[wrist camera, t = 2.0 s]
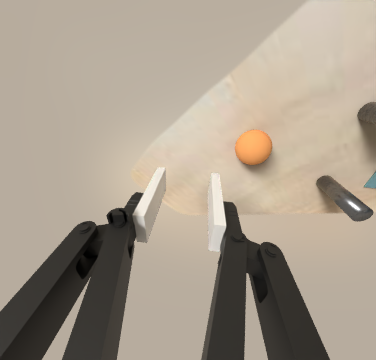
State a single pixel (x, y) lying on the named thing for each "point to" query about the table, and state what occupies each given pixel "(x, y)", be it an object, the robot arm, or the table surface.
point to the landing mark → (371, 182)
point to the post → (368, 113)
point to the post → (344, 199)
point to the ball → (253, 147)
